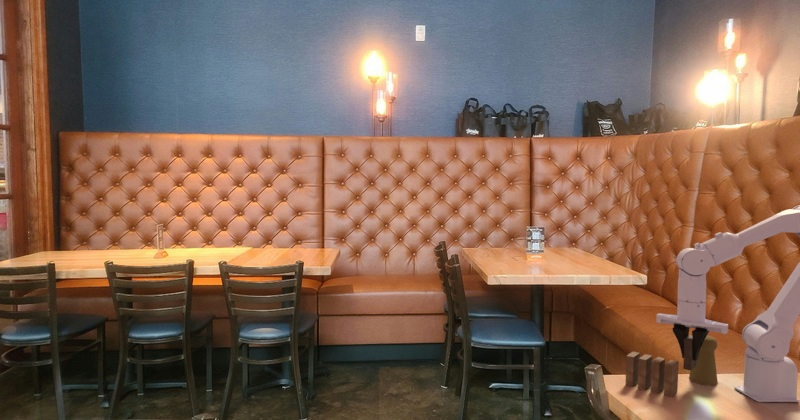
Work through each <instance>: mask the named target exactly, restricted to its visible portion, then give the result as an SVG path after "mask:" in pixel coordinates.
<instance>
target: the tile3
mask: <svg viewBox="0 0 800 420" xmlns="http://www.w3.org/2000/svg"><path fill="white" fill-rule="evenodd" d="M665 364H666V357H665V358H664V357H660V356H657V357H656V358H654V359H652V363H651V386H650V392H651V393H655V394H659V393H661V392H662V391H664V375H665Z"/></svg>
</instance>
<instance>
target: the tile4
mask: <svg viewBox="0 0 800 420" xmlns="http://www.w3.org/2000/svg"><path fill="white" fill-rule="evenodd" d="M652 361H653V355H650V354H647V353H645V354H643V355H642V356H640V358H639V367H638V383H637V388H638V389H640V390H644V391H646V390H647V389H648V388H650V387H651V363H652Z"/></svg>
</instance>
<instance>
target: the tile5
mask: <svg viewBox="0 0 800 420" xmlns="http://www.w3.org/2000/svg"><path fill="white" fill-rule="evenodd" d="M625 356H626V357H625V359H626V360H625V385H626V386H629V387H634V386H635V385H638V367H639V358H640V357H641V353H640V352H637V351H631V352H629V353H628V354H627V355H625Z"/></svg>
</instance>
